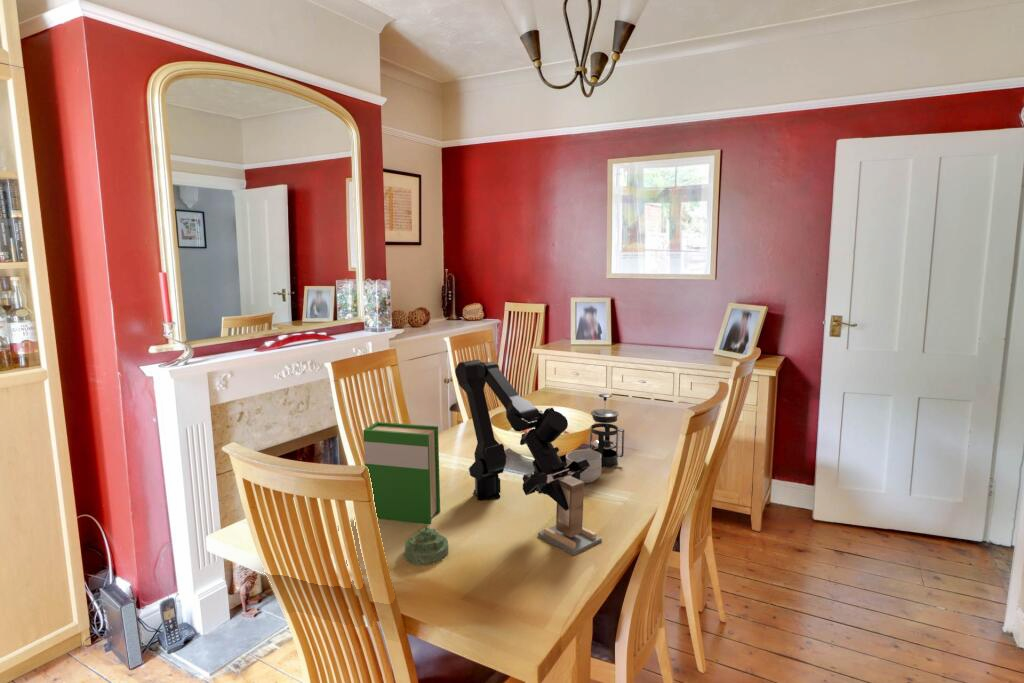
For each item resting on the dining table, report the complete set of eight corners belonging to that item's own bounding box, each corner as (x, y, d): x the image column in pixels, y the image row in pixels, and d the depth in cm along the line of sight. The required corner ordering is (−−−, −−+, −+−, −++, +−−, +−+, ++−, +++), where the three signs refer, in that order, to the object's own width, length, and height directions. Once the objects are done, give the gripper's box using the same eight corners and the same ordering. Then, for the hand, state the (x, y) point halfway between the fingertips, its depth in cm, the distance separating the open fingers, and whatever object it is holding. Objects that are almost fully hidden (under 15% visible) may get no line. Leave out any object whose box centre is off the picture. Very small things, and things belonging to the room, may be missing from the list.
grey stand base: (537, 535, 144) (537, 528, 144) (566, 523, 151) (566, 516, 150) (573, 555, 135) (573, 547, 135) (601, 541, 142) (602, 533, 141)
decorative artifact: (452, 544, 141) (411, 542, 142) (451, 517, 140) (410, 515, 141) (443, 567, 131) (399, 564, 132) (442, 537, 130) (398, 535, 131)
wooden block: (555, 529, 143) (557, 479, 141) (567, 524, 146) (569, 475, 144) (570, 537, 140) (572, 486, 137) (582, 532, 142) (584, 481, 140)
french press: (583, 465, 190) (585, 396, 186) (591, 455, 199) (592, 389, 195) (619, 470, 186) (621, 400, 182) (625, 460, 194) (627, 392, 191)
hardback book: (440, 512, 158) (438, 426, 154) (430, 524, 150) (427, 435, 146) (380, 505, 162) (376, 421, 158) (367, 517, 155) (363, 430, 151)
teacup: (592, 489, 171) (592, 463, 170) (559, 481, 177) (559, 456, 176) (610, 473, 183) (611, 449, 182) (579, 467, 189) (579, 443, 187)
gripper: (553, 457, 158) (582, 509, 152) (500, 475, 146) (529, 532, 140) (575, 437, 151) (606, 491, 145) (520, 453, 139) (552, 513, 133)
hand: (573, 507), depth 141 cm, fingers closed on wooden block, 4 cm apart
